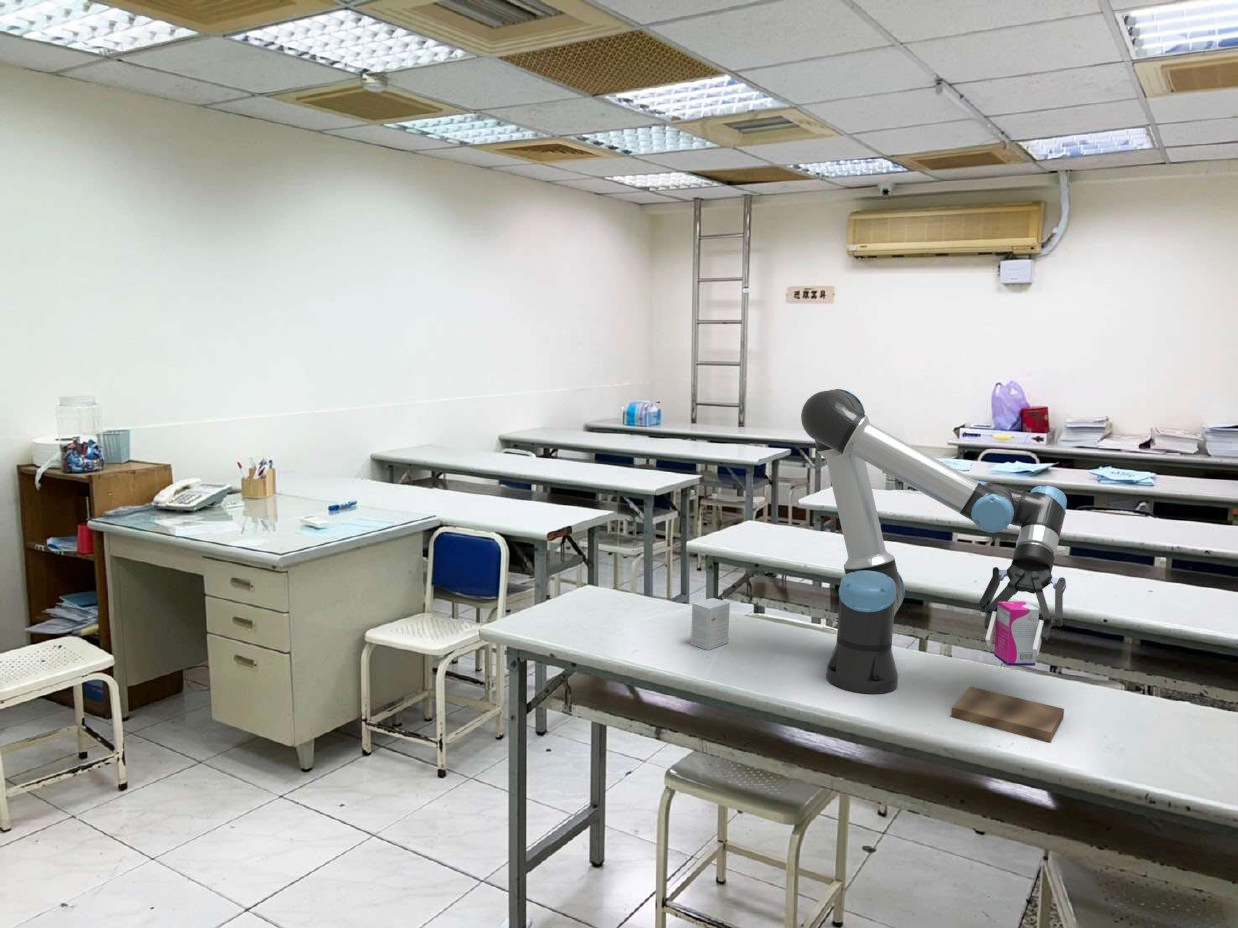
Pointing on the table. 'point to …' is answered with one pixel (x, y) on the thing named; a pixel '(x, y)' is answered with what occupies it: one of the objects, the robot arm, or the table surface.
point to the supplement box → (1016, 633)
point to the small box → (710, 623)
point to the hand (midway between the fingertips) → (1011, 647)
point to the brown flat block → (1008, 713)
